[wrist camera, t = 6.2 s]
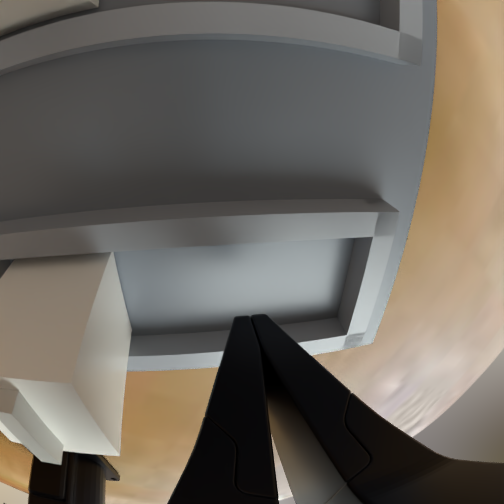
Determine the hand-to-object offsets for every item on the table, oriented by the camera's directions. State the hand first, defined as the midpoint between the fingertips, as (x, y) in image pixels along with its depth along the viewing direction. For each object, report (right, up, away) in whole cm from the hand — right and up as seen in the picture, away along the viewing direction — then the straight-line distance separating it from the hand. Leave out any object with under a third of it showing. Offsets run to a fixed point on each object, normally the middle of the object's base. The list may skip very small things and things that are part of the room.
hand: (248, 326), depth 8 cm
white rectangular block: (-6, +1, +1) cm, 6 cm away
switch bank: (-2, +6, 0) cm, 6 cm away
